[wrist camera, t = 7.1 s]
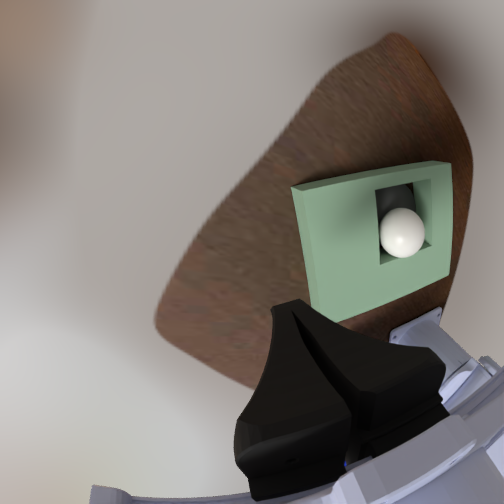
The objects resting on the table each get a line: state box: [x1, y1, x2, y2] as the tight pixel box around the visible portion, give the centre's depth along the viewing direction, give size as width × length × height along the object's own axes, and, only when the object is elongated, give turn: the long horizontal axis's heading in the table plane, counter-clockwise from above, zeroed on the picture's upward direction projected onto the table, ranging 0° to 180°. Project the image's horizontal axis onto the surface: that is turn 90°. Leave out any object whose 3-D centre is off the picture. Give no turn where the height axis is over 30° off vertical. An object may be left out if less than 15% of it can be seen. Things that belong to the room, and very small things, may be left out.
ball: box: [379, 208, 425, 258], centre depth 19 cm, size 4×4×4 cm
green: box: [291, 161, 453, 322], centre depth 20 cm, size 11×14×2 cm
